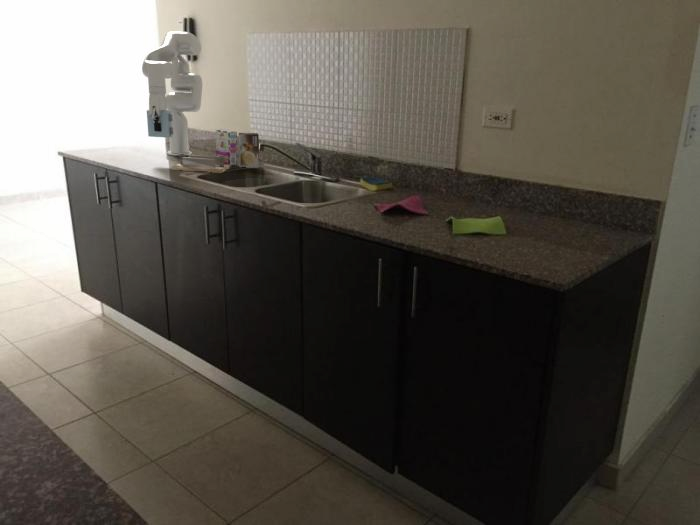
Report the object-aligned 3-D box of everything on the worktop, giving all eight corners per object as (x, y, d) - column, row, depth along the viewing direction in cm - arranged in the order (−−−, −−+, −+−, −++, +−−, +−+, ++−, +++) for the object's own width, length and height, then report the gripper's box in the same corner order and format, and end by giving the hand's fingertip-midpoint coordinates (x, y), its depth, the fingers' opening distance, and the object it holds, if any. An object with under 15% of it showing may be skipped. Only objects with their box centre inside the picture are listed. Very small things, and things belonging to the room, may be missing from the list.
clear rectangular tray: (184, 164, 284) (183, 151, 281) (230, 167, 282) (230, 154, 280) (172, 170, 269) (171, 155, 267) (221, 173, 268) (220, 158, 265)
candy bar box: (237, 165, 288) (237, 131, 283) (229, 166, 285) (228, 132, 279) (224, 162, 295) (223, 129, 290) (215, 163, 292) (214, 129, 287)
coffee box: (257, 165, 290) (257, 132, 285) (259, 168, 285) (259, 134, 279) (238, 165, 288) (238, 132, 283) (240, 168, 282) (239, 134, 277)
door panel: (152, 135, 282) (150, 109, 277) (174, 136, 281) (173, 110, 277) (148, 136, 278) (146, 110, 274) (171, 137, 277) (170, 111, 273)
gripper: (156, 88, 280) (159, 128, 286) (141, 91, 265) (144, 132, 271) (172, 89, 280) (174, 129, 286) (157, 92, 264) (160, 133, 270)
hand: (160, 130), depth 278 cm, fingers closed on door panel, 4 cm apart
